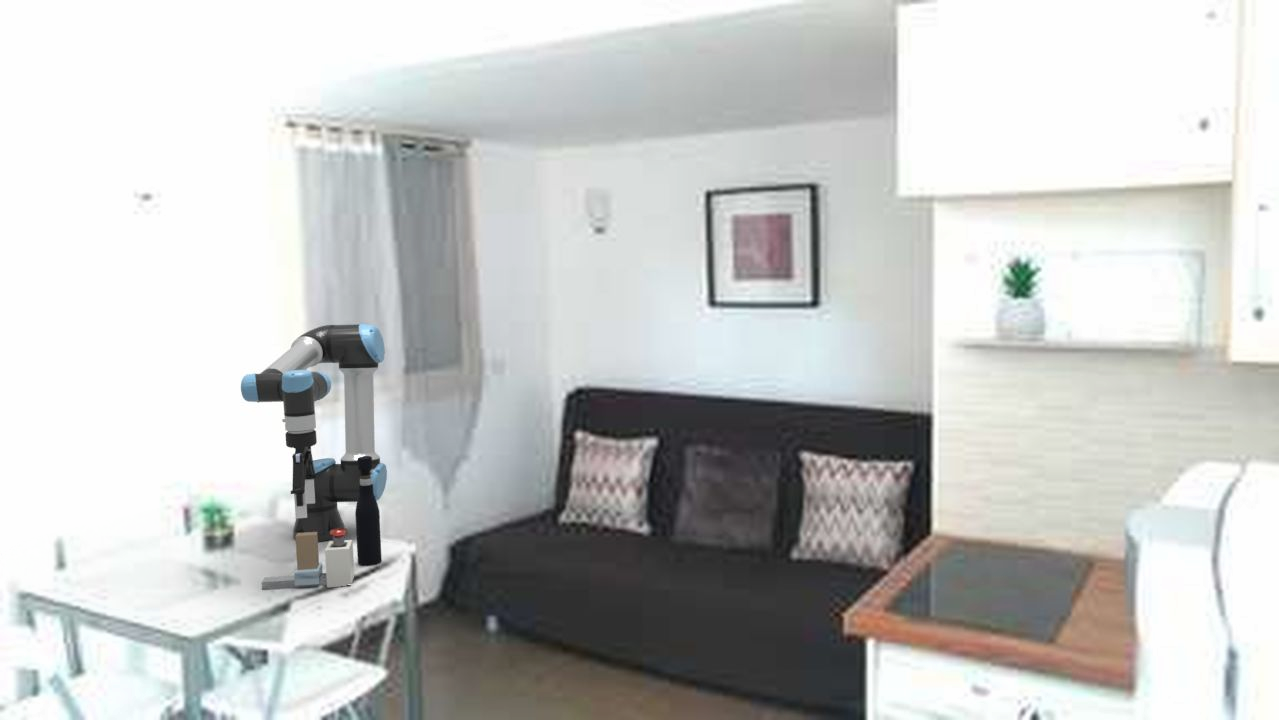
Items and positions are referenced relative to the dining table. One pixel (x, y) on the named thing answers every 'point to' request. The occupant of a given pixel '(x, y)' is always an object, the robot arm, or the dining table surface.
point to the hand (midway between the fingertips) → (305, 510)
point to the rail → (288, 582)
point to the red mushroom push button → (338, 537)
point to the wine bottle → (367, 518)
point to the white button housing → (339, 564)
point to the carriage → (307, 559)
